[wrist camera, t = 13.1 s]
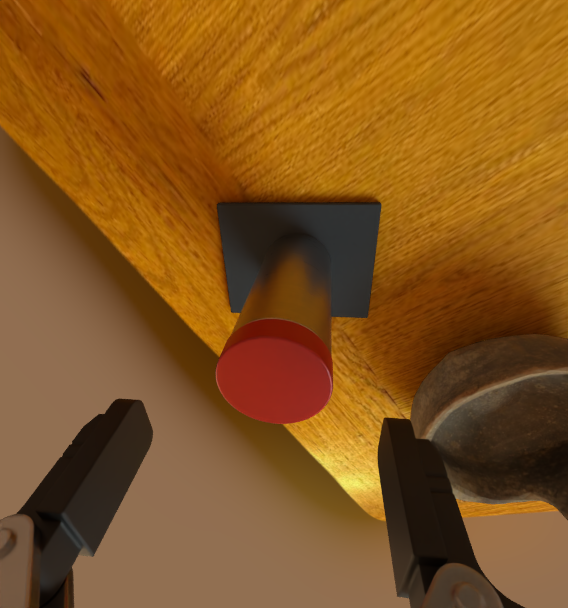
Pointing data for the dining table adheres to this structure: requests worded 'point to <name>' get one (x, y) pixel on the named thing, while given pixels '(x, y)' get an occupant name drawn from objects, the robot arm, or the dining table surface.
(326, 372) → the jar
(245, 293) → the mat
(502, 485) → the bowl
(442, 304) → the dining table surface
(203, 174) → the dining table surface
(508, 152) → the dining table surface
